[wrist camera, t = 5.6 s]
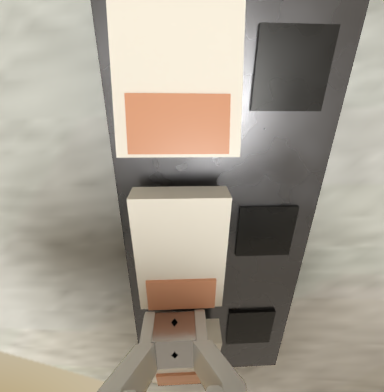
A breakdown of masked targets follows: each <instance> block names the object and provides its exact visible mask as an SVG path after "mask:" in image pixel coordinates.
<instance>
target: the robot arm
mask: <svg viewBox="0 0 384 392" xmlns="http://www.w3.org/2000/svg"><path fill="white" fill-rule="evenodd" d="M172 368H194V371H195V372H196V374H197V376H198V378H199V380H200V381H201V383H202V385H203V387H204V389H205V390H206V392H247V389H246V385H245V382H244V381H243V380H242V378H241V377H240V376H239V374H238V373H237V372H236V371H235V369H234V368H233V367H232V366H231V364H230V363H229V362H228V361H227V359H226V358H225V357H224V356H223V354H222V353H221V352H220V350H219V349H218V348H217V347H216V345H215V344H214V343H213V342H212V340H208V333H207V325H206V316H205V310H204V309H198V310H178V311H154V312H145V314H144V319H143V325H142V330H141V336H140V341H139V344H135V346H134V347H133V348H132V349H131V351H130V352H129V353H128V354H127V355H126V357H125V358H124V359H123V360H122V362H121V363H120V364H119V365H118V366H117V368H116V369H115V370H114V371H113V373H112V374H111V375H110V376H109V378H108V379H107V380H106V381H105V382H104V384H103V385H102V386H101V387H100V389H99V390H98V391H97V392H146V390H147V389H148V387H149V385H150V383H151V382H152V380H153V378H154V376H155V375H156V373H157V370H161V369H172Z"/></svg>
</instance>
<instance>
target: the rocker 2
mask: <svg viewBox="0 0 384 392" xmlns="http://www.w3.org/2000/svg"><path fill="white" fill-rule="evenodd" d="M206 325H207V333H208V340H212V342H213V343H214V344H215V345H216V347H217V348H218V349H219V350H220V351H221V347H222V337H221V330H220V323H219V318H218V319H206ZM153 383H158V386H162V385H181V384H199V383H201V381H200V380H199V378H198V376H197V374H196V372H195V371H194V368H172V369H161V370H157V373H156V375H155V376H154V378H153V380H152V384H153Z"/></svg>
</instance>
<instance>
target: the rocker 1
mask: <svg viewBox="0 0 384 392" xmlns="http://www.w3.org/2000/svg"><path fill="white" fill-rule="evenodd" d="M245 9H246V0H106V10H107V25H108V40H109V55H110V70H111V85H112V100H113V115H114V130H115V145H116V158H150V157H240V149H241V121H242V93H243V65H244V37H245Z"/></svg>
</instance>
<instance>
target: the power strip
mask: <svg viewBox="0 0 384 392" xmlns="http://www.w3.org/2000/svg"><path fill="white" fill-rule="evenodd" d="M368 4H369V0H246V9H245V37H244V65H243V93H242V121H241V149H240V157H150V158H116V145H115V130H114V115H113V100H112V85H111V70H110V55H109V40H108V25H107V10H106V0H91V7H92V14H93V21H94V28H95V35H96V43H97V50H98V57H99V64H100V71H101V78H102V86H103V93H104V100H105V107H106V114H107V122H108V129H109V136H110V143H111V150H112V158H113V165H114V172H115V179H116V186H117V193H118V201H119V208H120V215H121V222H122V229H123V237H124V244H125V251H126V258H127V265H128V273H129V280H130V287H131V294H132V301H133V308H134V316H135V323H136V330H137V337H138V344H139V341H140V336H141V330H142V325H143V319H144V314H145V312H154V311H178V310H198V309H173V310H148V309H141V307H140V299H139V291H138V284H137V276H136V269H135V261H134V253H133V246H132V238H131V231H130V223H129V215H128V208H127V200H126V199H127V197H128V195H129V193H130V191H131V189H132V187H171V186H227V188H228V190H229V192H230V194H231V196H232V205H231V216H230V227H229V237H228V248H227V258H226V269H225V279H224V290H223V300H222V306H219V307H214V308H200V309H204V310H205V316H206V319H218V318H219V323H220V330H221V337H222V347H221V351H220V352H221V353H222V354H223V356H224V357H225V358H226V359H227V361H228V362H229V363H230V364H231V366H232V367H241V366H261V365H275V364H276V360H277V356H278V352H279V348H280V344H281V341H282V337H283V333H284V329H285V325H286V321H287V317H288V313H289V310H290V306H291V302H292V298H293V294H294V290H295V286H296V283H297V279H298V275H299V271H300V267H301V263H302V259H303V255H304V252H305V248H306V244H307V240H308V236H309V232H310V228H311V225H312V221H313V217H314V213H315V209H316V205H317V201H318V197H319V194H320V190H321V186H322V182H323V178H324V174H325V170H326V167H327V163H328V159H329V155H330V151H331V147H332V143H333V139H334V136H335V132H336V128H337V124H338V120H339V116H340V112H341V109H342V105H343V101H344V97H345V93H346V89H347V85H348V81H349V78H350V74H351V70H352V66H353V62H354V58H355V54H356V51H357V47H358V43H359V39H360V35H361V31H362V27H363V23H364V20H365V16H366V12H367V8H368Z"/></svg>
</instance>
